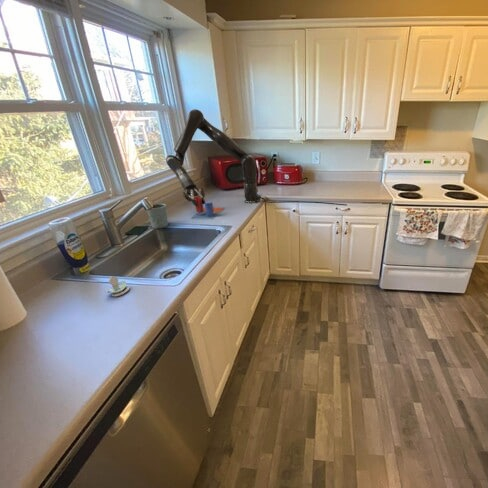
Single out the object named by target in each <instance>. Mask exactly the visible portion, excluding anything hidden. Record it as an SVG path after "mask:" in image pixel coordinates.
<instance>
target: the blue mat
mask: <svg viewBox="0 0 488 488" xmlns="http://www.w3.org/2000/svg"><path fill="white" fill-rule="evenodd" d="M218 213H219V212H214V216H213V217H207V215H206V212H200V213H198V212H197V213H196V214H195V215H194V216H192V217H191V218H192V219H214V218H215V217H216V216H217V215H218Z"/></svg>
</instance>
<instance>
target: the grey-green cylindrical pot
mask: <svg viewBox="0 0 488 488" xmlns="http://www.w3.org/2000/svg"><path fill="white" fill-rule="evenodd" d="M152 204H153V208H152V209H151V210H149V211H147V210H146V212H147V215H148V219H149V221H150V226H151V227H152V228H153V229H163V228H166V227H167V226H169V221H168V213H167V212H168V211H167V205H166V203H152Z"/></svg>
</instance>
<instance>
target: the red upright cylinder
mask: <svg viewBox="0 0 488 488" xmlns="http://www.w3.org/2000/svg"><path fill="white" fill-rule="evenodd" d="M194 200H195V201H196V202H197V204H198V205H197V206H195V205H194V206H195V212H196V213H197V214H198V213H205V211H204V204H203V203H202V197H197V196H194Z"/></svg>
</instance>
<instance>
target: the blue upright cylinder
mask: <svg viewBox="0 0 488 488" xmlns="http://www.w3.org/2000/svg"><path fill="white" fill-rule="evenodd" d="M213 207H214V203H213V201H211V200H207V201H205V204H204V208H205V209H206V211H205V213H206V215H207V217H213V216H214V213H215V212H214V211H213ZM214 217H215V216H214ZM214 217H213V218H214Z"/></svg>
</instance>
